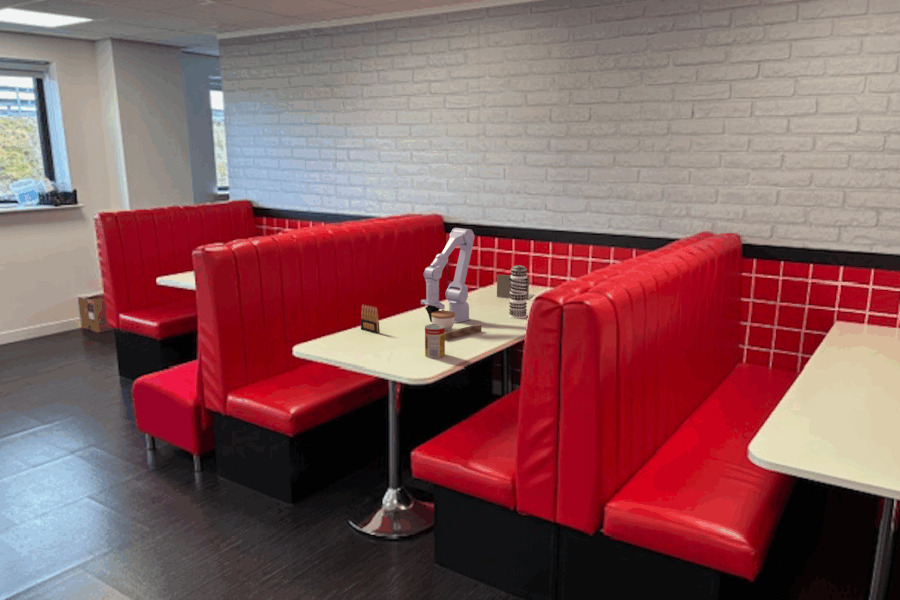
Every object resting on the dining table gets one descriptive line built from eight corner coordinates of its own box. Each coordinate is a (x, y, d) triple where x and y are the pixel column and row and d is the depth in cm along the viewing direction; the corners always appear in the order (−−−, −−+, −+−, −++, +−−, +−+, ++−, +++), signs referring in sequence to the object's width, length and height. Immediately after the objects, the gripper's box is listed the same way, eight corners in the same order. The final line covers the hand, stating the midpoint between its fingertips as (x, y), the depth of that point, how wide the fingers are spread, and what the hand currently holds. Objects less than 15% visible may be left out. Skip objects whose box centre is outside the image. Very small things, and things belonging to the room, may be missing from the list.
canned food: (444, 352, 279) (444, 323, 277) (445, 358, 272) (445, 329, 269) (425, 352, 279) (424, 323, 276) (425, 358, 271) (424, 329, 269)
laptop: (534, 295, 385) (534, 272, 382) (528, 300, 373) (529, 276, 370) (503, 293, 391) (503, 270, 388) (496, 297, 379) (497, 274, 377)
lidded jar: (459, 328, 315) (459, 308, 313) (447, 334, 306) (447, 313, 304) (439, 325, 320) (439, 306, 318) (426, 330, 311) (426, 310, 309)
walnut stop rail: (478, 330, 312) (478, 324, 311) (481, 331, 310) (481, 325, 310) (441, 339, 297) (441, 332, 297) (445, 340, 296) (445, 333, 295)
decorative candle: (517, 319, 331) (518, 268, 326) (504, 315, 339) (505, 265, 333) (531, 316, 337) (532, 266, 331) (518, 313, 344) (519, 263, 338)
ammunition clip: (379, 332, 308) (379, 306, 305) (376, 333, 306) (376, 307, 304) (363, 328, 315) (363, 303, 312) (360, 329, 313) (360, 303, 311)
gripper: (415, 291, 317) (416, 320, 320) (436, 296, 307) (436, 326, 310) (427, 289, 322) (427, 317, 325) (448, 294, 311) (448, 323, 314)
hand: (432, 321), depth 318 cm, fingers closed
